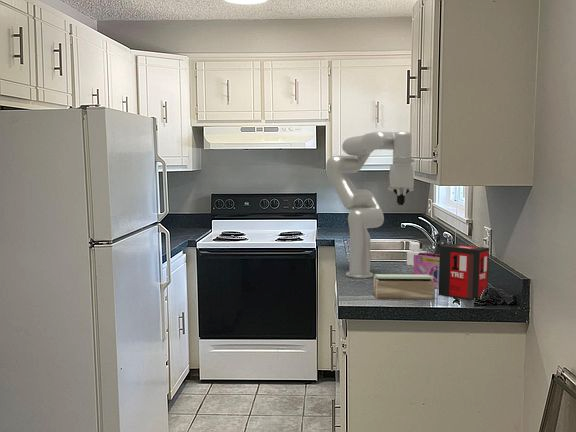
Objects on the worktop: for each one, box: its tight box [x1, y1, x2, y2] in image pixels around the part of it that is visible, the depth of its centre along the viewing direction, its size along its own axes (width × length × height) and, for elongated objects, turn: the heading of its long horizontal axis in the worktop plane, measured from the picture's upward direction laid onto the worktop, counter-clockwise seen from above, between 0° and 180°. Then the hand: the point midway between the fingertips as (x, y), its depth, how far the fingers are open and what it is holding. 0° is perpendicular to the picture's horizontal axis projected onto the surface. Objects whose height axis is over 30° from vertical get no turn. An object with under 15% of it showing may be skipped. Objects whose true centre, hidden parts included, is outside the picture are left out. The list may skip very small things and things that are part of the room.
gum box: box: [413, 252, 440, 290], centre depth 259 cm, size 24×8×14 cm, turn 57°
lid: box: [373, 273, 433, 279], centre depth 241 cm, size 10×22×1 cm, turn 91°
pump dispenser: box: [432, 239, 449, 254], centre depth 296 cm, size 10×10×15 cm
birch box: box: [372, 275, 435, 300], centre depth 242 cm, size 10×22×7 cm, turn 91°
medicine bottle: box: [406, 241, 426, 267], centre depth 313 cm, size 7×7×12 cm
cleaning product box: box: [438, 243, 490, 301], centre depth 242 cm, size 16×9×20 cm, turn 48°
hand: (400, 204), depth 258 cm, fingers closed
